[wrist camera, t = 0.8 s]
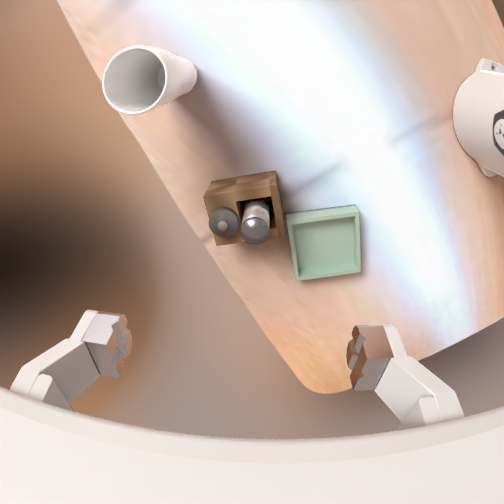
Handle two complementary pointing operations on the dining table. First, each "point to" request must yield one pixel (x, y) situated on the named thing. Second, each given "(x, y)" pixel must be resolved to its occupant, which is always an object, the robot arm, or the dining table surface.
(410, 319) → the dining table surface
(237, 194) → the tensioner block
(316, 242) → the tray
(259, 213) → the pin
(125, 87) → the white tall cup
